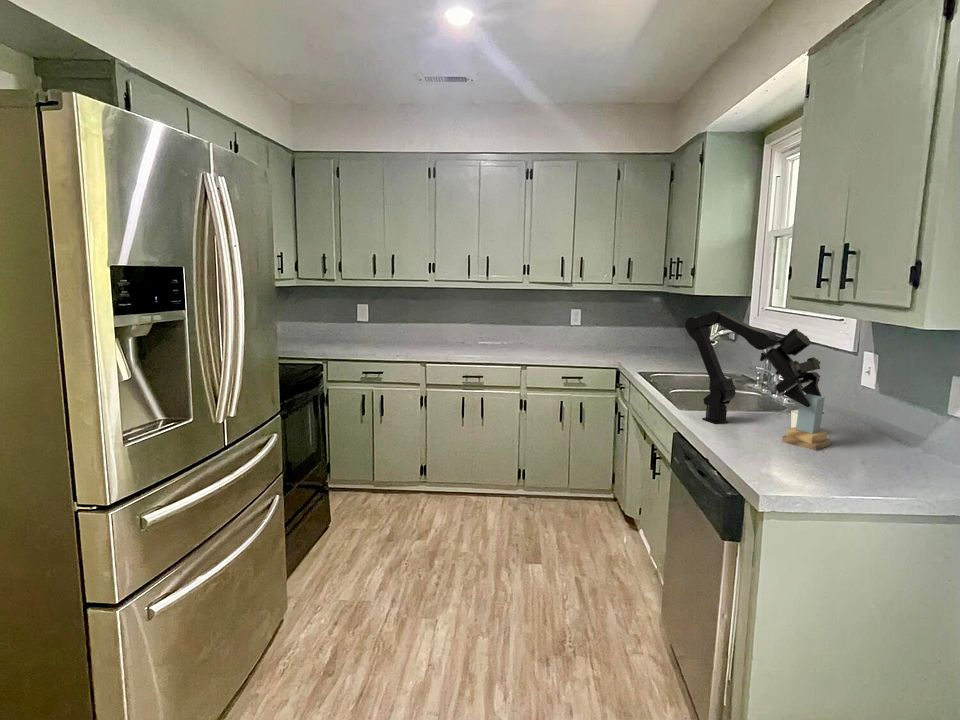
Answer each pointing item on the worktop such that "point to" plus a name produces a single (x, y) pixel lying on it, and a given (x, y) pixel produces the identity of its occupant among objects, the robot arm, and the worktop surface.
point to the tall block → (810, 414)
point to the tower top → (806, 435)
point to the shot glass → (794, 418)
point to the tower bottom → (806, 443)
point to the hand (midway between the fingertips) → (815, 404)
